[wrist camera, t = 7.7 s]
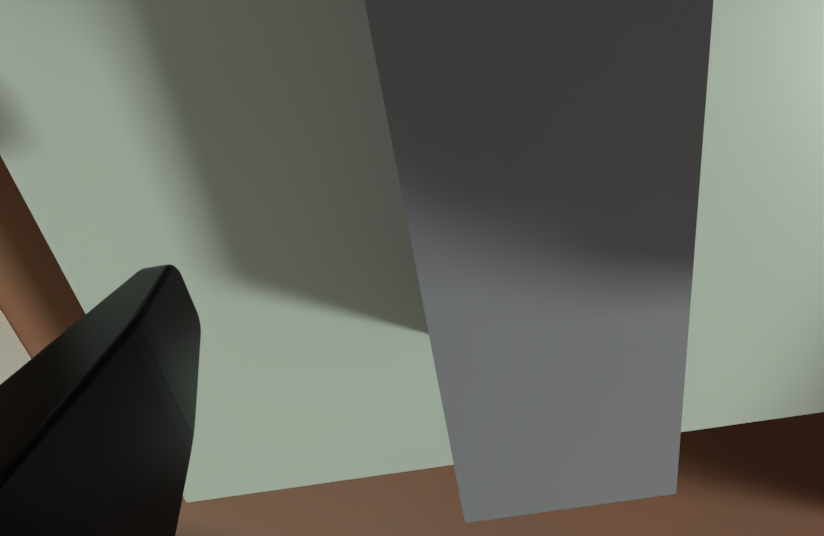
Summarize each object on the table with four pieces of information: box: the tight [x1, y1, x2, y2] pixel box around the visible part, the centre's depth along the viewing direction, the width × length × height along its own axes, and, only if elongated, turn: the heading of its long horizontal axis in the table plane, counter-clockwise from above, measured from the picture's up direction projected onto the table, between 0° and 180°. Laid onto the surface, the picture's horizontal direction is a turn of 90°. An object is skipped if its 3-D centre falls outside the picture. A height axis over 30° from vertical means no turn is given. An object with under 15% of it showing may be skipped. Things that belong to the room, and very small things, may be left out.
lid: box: [0, 0, 824, 523], centre depth 11 cm, size 15×15×7 cm
